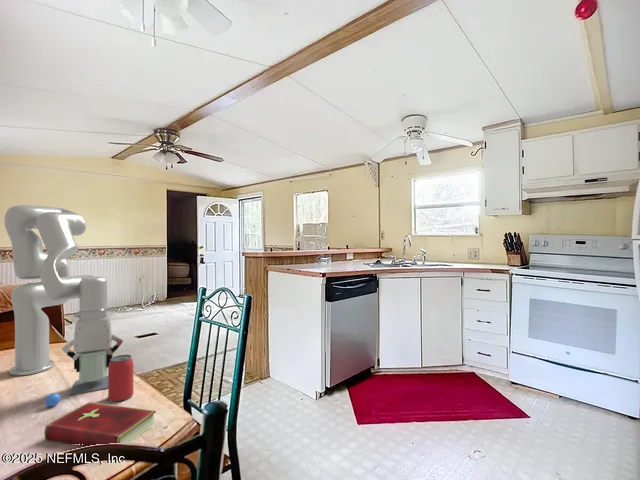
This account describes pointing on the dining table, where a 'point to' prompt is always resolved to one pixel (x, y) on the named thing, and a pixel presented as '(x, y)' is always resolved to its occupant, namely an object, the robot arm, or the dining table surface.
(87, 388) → the slate mat
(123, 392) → the beer can
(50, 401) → the marble
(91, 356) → the mint green domed cylinder
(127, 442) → the hardcover book
